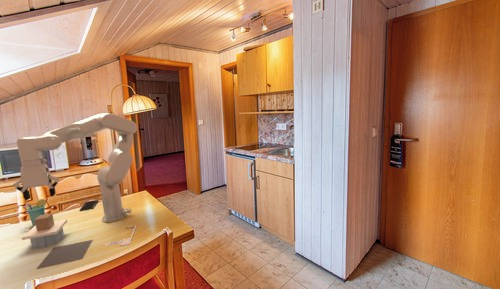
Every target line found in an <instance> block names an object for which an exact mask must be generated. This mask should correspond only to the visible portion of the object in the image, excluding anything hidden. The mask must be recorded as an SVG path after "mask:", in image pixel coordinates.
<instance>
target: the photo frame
mask: <svg viewBox="0 0 500 289" xmlns="http://www.w3.org/2000/svg"><path fill="white" fill-rule="evenodd" d="M130 228H133V230H132V233H131V235H130V237H128V238H124V239H123V238H122V239H121V240H116V241H113V242H106V243H105V245H104V247H109V246H113V245H118V244H119V246H118V247H125V246H129V245H131V243H132V240H133V237H134V234H135V231H136V229H137V225H131V226H126V227H125V229H130Z"/></svg>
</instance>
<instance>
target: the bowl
mask: <svg viewBox="0 0 500 289" xmlns="http://www.w3.org/2000/svg"><path fill="white" fill-rule="evenodd" d="M63 227H64V226H63ZM63 227H62V228H61V229H60V231H59V232H58V233H57V234H52V235H47V236H42V237H36V238H31V239H29V240H30V244H31V248H32V249H36V250H38V249H44V248H47V247H50V246H53V245H55V244H57V243H59V242H61V241H62V240H63V239H64V238H65V233H64V228H63Z"/></svg>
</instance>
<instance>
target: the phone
mask: <svg viewBox="0 0 500 289" xmlns="http://www.w3.org/2000/svg"><path fill="white" fill-rule="evenodd" d="M98 203H99V199H96V200H95V199H94V200H88V201H85V203H84V204H83V205H82V206H81V208H80V209H79V212H85V211H91V210H94V209H95V208H96V206H97V204H98ZM90 209H91V210H90ZM84 210H85V211H84Z"/></svg>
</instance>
